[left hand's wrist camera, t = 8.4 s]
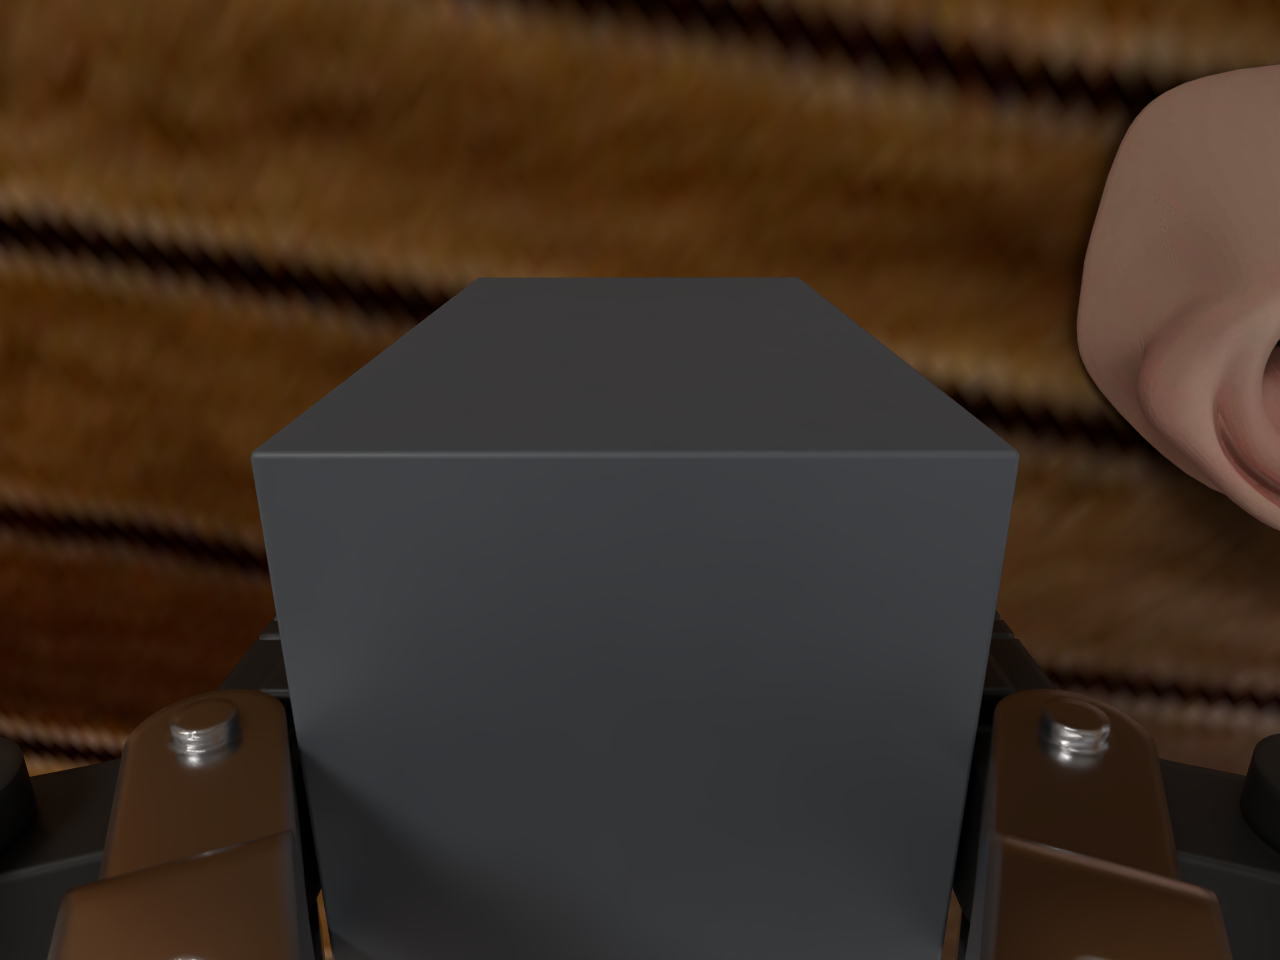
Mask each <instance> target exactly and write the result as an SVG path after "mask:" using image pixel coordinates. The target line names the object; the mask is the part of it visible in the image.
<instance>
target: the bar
mask: <svg viewBox="0 0 1280 960" xmlns="http://www.w3.org/2000/svg"><path fill="white" fill-rule="evenodd" d="M251 462H252V468H253V474H254V480H255V486H256V492H257V499H258V505H259V511H260V517H261V523H262V529H263V535H264V541H265V547H266V553H267V559H268V566H269V572H270V578H271V584H272V590H273V596H274V602H275V608H276V614H277V620H278V627H279V633H280V639H281V645H282V651H283V657H284V663H285V669H286V675H287V681H288V687H289V694H290V700H291V706H292V712H293V718H294V724H295V730H296V736H297V742H298V748H299V754H300V761H301V767H302V773H303V779H304V785H305V791H306V797H307V803H308V809H309V815H310V821H311V828H312V834H313V840H314V846H315V852H316V858H317V864H318V870H319V876H320V882H321V888H322V895H323V901H324V907H325V913H326V919H327V925H328V931H329V937H330V943H331V949H332V955H333V960H941V955H942V949H943V942H944V936H945V930H946V923H947V917H948V911H949V904H950V898H951V891H952V885H953V879H954V872H955V866H956V860H957V853H958V847H959V840H960V834H961V828H962V821H963V815H964V808H965V802H966V796H967V789H968V783H969V777H970V770H971V764H972V757H973V751H974V745H975V738H976V732H977V726H978V719H979V713H980V706H981V700H982V694H983V687H984V681H985V674H986V668H987V662H988V655H989V649H990V643H991V636H992V630H993V623H994V617H995V611H996V604H997V598H998V591H999V585H1000V579H1001V572H1002V566H1003V560H1004V553H1005V547H1006V540H1007V534H1008V528H1009V521H1010V515H1011V509H1012V502H1013V496H1014V489H1015V483H1016V477H1017V470H1018V464H1019V453H1018V451H1017V450H1016V449H1015V448H1013V447H1012V446H1011V445H1010V444H1008V443H1007V442H1006V441H1005V440H1003V439H1002V438H1001V437H999V436H998V435H997V434H996V433H994V432H993V431H992V430H991V429H989V428H988V427H987V426H986V425H984V424H983V423H982V422H980V421H979V420H978V419H977V418H975V417H974V416H973V415H972V414H970V413H969V412H968V411H967V410H965V409H964V408H963V407H962V406H960V405H959V404H958V403H956V402H955V401H954V400H953V399H951V398H950V397H949V396H948V395H946V394H945V393H944V392H943V391H941V390H940V389H939V388H938V387H936V386H935V385H934V384H932V383H931V382H930V381H929V380H927V379H926V378H925V377H924V376H922V375H921V374H920V373H919V372H917V371H916V370H915V369H914V368H912V367H911V366H910V365H908V364H907V363H906V362H905V361H903V360H902V359H901V358H900V357H898V356H897V355H896V354H895V353H893V352H892V351H891V350H889V349H888V348H887V347H886V346H884V345H883V344H882V343H881V342H879V341H878V340H877V339H876V338H874V337H873V336H872V335H871V334H869V333H868V332H867V331H865V330H864V329H863V328H862V327H860V326H859V325H858V324H857V323H855V322H854V321H853V320H852V319H850V318H849V317H848V316H847V315H845V314H844V313H843V312H841V311H840V310H839V309H838V308H836V307H835V306H834V305H833V304H831V303H830V302H829V301H828V300H826V299H825V298H824V297H822V296H821V295H820V294H819V293H817V292H816V291H815V290H814V289H812V288H811V287H810V286H809V285H807V284H806V283H805V282H804V281H802V280H801V279H800V278H797V277H794V278H478V279H476V280H475V281H474V282H472V283H471V284H470V285H469V286H467V287H466V288H465V289H463V290H462V291H461V292H459V293H458V294H457V295H456V296H454V297H453V298H452V299H450V300H449V301H448V302H446V303H445V304H444V305H443V306H441V307H440V308H439V309H437V310H436V311H435V312H434V313H432V314H431V315H430V316H428V317H427V318H426V319H424V320H423V321H422V322H421V323H419V324H418V325H417V326H415V327H414V328H413V329H411V330H410V331H409V332H408V333H406V334H405V335H404V336H402V337H401V338H400V339H399V340H397V341H396V342H395V343H393V344H392V345H391V346H389V347H388V348H387V349H386V350H384V351H383V352H382V353H380V354H379V355H378V356H376V357H375V358H374V359H373V360H371V361H370V362H369V363H367V364H366V365H365V366H363V367H362V368H361V369H360V370H358V371H357V372H356V373H354V374H353V375H352V376H351V377H349V378H348V379H347V380H345V381H344V382H343V383H341V384H340V385H339V386H338V387H336V388H335V389H334V390H332V391H331V392H330V393H328V394H327V395H326V396H325V397H323V398H322V399H321V400H319V401H318V402H317V403H316V404H314V405H313V406H312V407H310V408H309V409H308V410H306V411H305V412H304V413H303V414H301V415H300V416H299V417H297V418H296V419H295V420H293V421H292V422H291V423H290V424H288V425H287V426H286V427H284V428H283V429H282V430H281V431H279V432H278V433H277V434H275V435H274V436H273V437H271V438H270V439H269V440H268V441H266V442H265V443H264V444H262V445H261V446H260V447H258V448H257V449H256V450H255V451H253V452H252V456H251Z"/></svg>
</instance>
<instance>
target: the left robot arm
mask: <svg viewBox="0 0 1280 960" xmlns="http://www.w3.org/2000/svg"><path fill="white" fill-rule="evenodd" d="M952 888H953V890H954V892H955V895H956V897H957V899H958V902H959V904H960V906H961V915H960V921H959V927H958V934H957V944H956V953H955V960H1280V734H1275V735H1271V736H1268V737H1266V738H1264V739H1262V740H1261V741H1260V742H1259V743H1258V744H1257V745H1256V747H1255V749H1254V752H1253V755H1252V759H1251V762H1250V766H1249V769H1248V773H1247V776H1243V775H1238V774H1233V773H1228V772H1223V771H1218V770H1213V769H1208V768H1203V767H1198V766H1193V765H1187V764H1182V763H1177V762H1173V761H1168V760H1164V759H1160V758H1158V753H1157V748H1156V746H1155V743H1154V741H1153V739H1152V738H1151V736H1150V735H1149V733H1148V732H1147V731H1146V730H1145V729H1144V728H1143V727H1142V726H1141V725H1140V724H1139V723H1138V722H1136V721H1135V720H1134V719H1133V718H1131V717H1130V716H1128V715H1127V714H1125V713H1124V712H1122V711H1120V710H1118V709H1117V708H1115V707H1113V706H1111V705H1109V704H1106V703H1104V702H1102V701H1099V700H1097V699H1094V698H1091V697H1088V696H1085V695H1081V694H1077V693H1073V692H1067V691H1061V690H1057V689H1056V688H1055V686H1054V685H1053V684H1052V682H1051V681H1050V680H1049V678H1048V677H1047V676H1046V675H1045V673H1044V672H1043V671H1042V669H1041V668H1040V667H1039V666H1038V664H1037V663H1036V662H1035V660H1034V659H1033V658H1032V656H1031V655H1030V654H1029V653H1028V651H1027V650H1026V649H1025V647H1024V646H1023V645H1022V644H1021V642H1020V641H1019V640H1018V639H1015V638H1014V633H1013V632H1012V631H1011V629H1010V628H1009V627H1008V625H1007V624H1006V623H1005V622H1004V620H1000V615H999V614H998V613H997V611H995V617H994V623H993V630H992V636H991V643H990V649H989V655H988V662H987V668H986V674H985V681H984V687H983V694H982V700H981V706H980V713H979V719H978V726H977V732H976V738H975V745H974V751H973V757H972V764H971V770H970V777H969V783H968V789H967V796H966V802H965V808H964V815H963V821H962V828H961V834H960V840H959V847H958V853H957V860H956V866H955V872H954V879H953V885H952ZM320 890H321V882H320V876H319V870H318V864H317V858H316V852H315V846H314V840H313V834H312V828H311V821H310V815H309V809H308V803H307V797H306V791H305V785H304V779H303V773H302V767H301V761H300V754H299V748H298V742H297V736H296V730H295V724H294V718H293V712H292V706H291V700H290V694H289V687H288V681H287V675H286V669H285V663H284V657H283V651H282V645H281V639H280V633H279V627H278V620H277V614H276V615H275V617H274V621H271V622H270V623H269V624H268V625H267V627H266V628H265V629H264V631H263V632H262V633H261V634H260V640H256V641H255V642H254V643H253V645H252V646H251V647H250V648H249V650H248V651H247V652H246V654H245V655H244V656H243V657H242V659H241V660H240V661H239V662H238V664H237V665H236V666H235V668H234V669H233V670H232V671H231V673H230V674H229V675H228V676H227V678H226V679H225V680H224V682H223V683H222V684H221V685H220V687H219V688H218V689H217V691H213V692H207V693H203V694H199V695H195V696H192V697H189V698H186V699H183V700H181V701H178V702H176V703H174V704H171V705H169V706H167V707H165V708H163V709H162V710H160V711H158V712H156V713H155V714H153V715H152V716H150V717H149V718H147V719H146V720H145V721H144V722H142V723H141V724H140V725H139V726H138V727H137V728H136V729H135V730H134V731H133V732H132V733H131V735H130V736H129V738H128V739H127V741H126V743H125V746H124V748H123V753H122V758H118V759H115V760H111V761H107V762H103V763H98V764H94V765H88V766H83V767H78V768H73V769H68V770H63V771H58V772H53V773H48V774H43V775H38V776H32V777H29V773H28V770H27V767H26V763H25V760H24V757H23V753H22V751H21V749H20V747H19V746H18V745H17V744H16V743H15V742H14V741H11V740H9V739H7V738H3V737H0V960H325V953H324V944H323V934H322V927H321V921H320V915H319V909H318V903H317V897H318V894H319V892H320Z"/></svg>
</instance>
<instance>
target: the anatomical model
mask: <svg viewBox="0 0 1280 960" xmlns="http://www.w3.org/2000/svg"><path fill="white" fill-rule="evenodd" d="M1077 342H1078V347H1079V352H1080V355H1081V358H1082V361H1083V363H1084V366H1085V368H1086V370H1087V372H1088V373H1089V375H1090V376H1091V378H1092V379H1093V381H1094V382H1095V384H1096V385H1097V387H1098V388H1099V390H1100V391H1101V392H1102V393H1103V394H1104V395H1105V397H1106V398H1107V399H1108V400H1109V401H1110V402H1111V404H1112V405H1113V406H1114V407H1115V408H1116V409H1117V411H1118V412H1119V413H1120V414H1121V415H1122V416H1123V417H1124V418H1125V419H1126V420H1127V421H1128V422H1129V423H1130V424H1131V425H1132V426H1133V427H1134V428H1135V429H1136V430H1137V431H1138V432H1139V433H1140V434H1141V435H1142V436H1143V437H1144V438H1145V439H1146V440H1147V441H1148V442H1149V443H1150V444H1151V445H1152V446H1153V447H1155V448H1156V449H1157V450H1158V451H1159V452H1160V453H1161V454H1162V455H1163V456H1165V457H1166V458H1167V459H1168V460H1170V461H1171V462H1172V463H1174V464H1175V465H1176V466H1177V467H1179V468H1180V469H1181V470H1183V471H1184V472H1185V473H1186V474H1188V475H1190V476H1191V477H1193V478H1195V479H1196V480H1198V481H1200V482H1201V483H1203V484H1205V485H1206V486H1208V487H1210V488H1211V489H1214V490H1216V491H1218V492H1221V493H1223V494H1225V495H1226V496H1227V497H1228V498H1230V499H1231V500H1232V501H1233V502H1234V503H1235V504H1237V505H1238V506H1239V507H1241V508H1242V509H1243V510H1245V511H1246V512H1247V513H1249V514H1250V515H1252V516H1253V517H1255V518H1256V519H1258V520H1259V521H1261V522H1263V523H1264V524H1266V525H1268V526H1270V527H1272V528H1274V529H1276V530H1279V531H1280V64H1278V65H1270V66H1262V67H1254V68H1245V69H1238V70H1233V71H1229V72H1224V73H1220V74H1215V75H1210V76H1206V77H1202V78H1199V79H1196V80H1193V81H1190V82H1186V83H1184V84H1182V85H1179V86H1177V87H1175V88H1173V89H1171V90H1169V91H1167V92H1165V93H1163V94H1162V95H1160V96H1159V97H1157V98H1156V99H1154V100H1153V101H1152V102H1151V103H1149V104H1148V105H1147V106H1146V107H1145V108H1144V109H1143V110H1142V111H1141V112H1140V114H1139V115H1138V116H1137V117H1136V118H1135V120H1134V121H1133V123H1132V124H1131V126H1130V127H1129V129H1128V131H1127V133H1126V134H1125V136H1124V138H1123V140H1122V142H1121V144H1120V146H1119V149H1118V152H1117V154H1116V157H1115V159H1114V162H1113V164H1112V167H1111V170H1110V172H1109V175H1108V177H1107V181H1106V184H1105V187H1104V191H1103V194H1102V198H1101V201H1100V205H1099V208H1098V212H1097V215H1096V219H1095V222H1094V226H1093V229H1092V233H1091V236H1090V240H1089V244H1088V248H1087V252H1086V257H1085V261H1084V268H1083V276H1082V284H1081V292H1080V299H1079V307H1078V315H1077Z"/></svg>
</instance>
